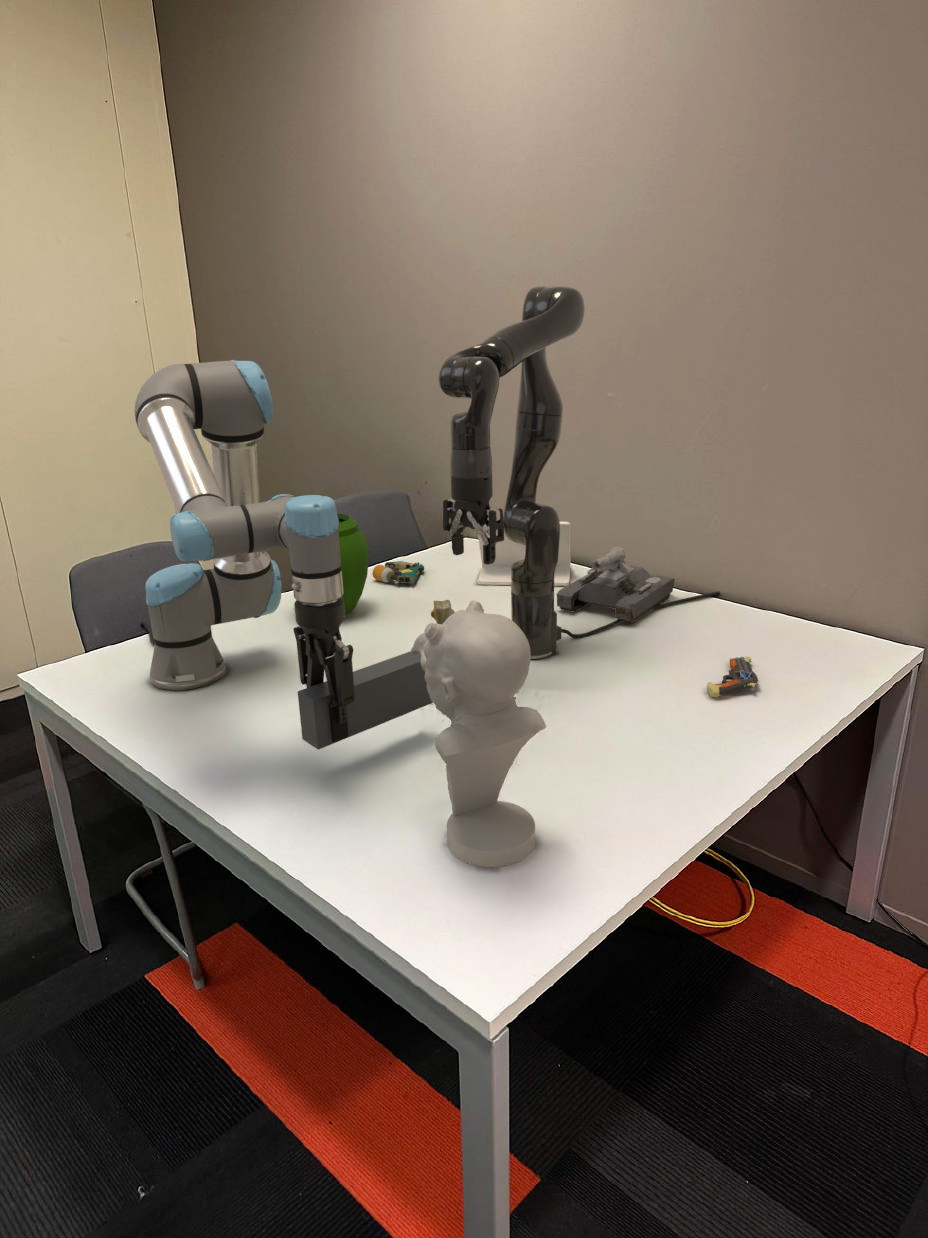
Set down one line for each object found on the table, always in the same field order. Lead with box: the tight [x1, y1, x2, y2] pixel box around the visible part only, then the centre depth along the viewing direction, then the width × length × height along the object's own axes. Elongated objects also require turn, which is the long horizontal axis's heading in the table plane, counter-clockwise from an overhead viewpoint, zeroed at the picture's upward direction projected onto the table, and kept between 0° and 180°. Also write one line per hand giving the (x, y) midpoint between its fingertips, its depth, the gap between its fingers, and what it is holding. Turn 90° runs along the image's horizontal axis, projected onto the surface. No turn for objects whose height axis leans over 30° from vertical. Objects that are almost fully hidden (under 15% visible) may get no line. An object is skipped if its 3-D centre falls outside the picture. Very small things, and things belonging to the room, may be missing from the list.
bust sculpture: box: [410, 599, 547, 868], centre depth 121 cm, size 16×24×35 cm
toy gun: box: [706, 656, 760, 698], centre depth 171 cm, size 3×19×10 cm
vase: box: [288, 513, 370, 617], centre depth 209 cm, size 20×20×24 cm
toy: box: [556, 546, 676, 624], centre depth 212 cm, size 25×20×15 cm
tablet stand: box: [476, 521, 572, 587], centre depth 236 cm, size 18×25×17 cm
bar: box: [297, 650, 434, 751], centre depth 142 cm, size 24×5×9 cm, turn 131°
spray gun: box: [371, 560, 425, 585], centre depth 240 cm, size 4×17×15 cm
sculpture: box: [430, 599, 456, 624], centre depth 177 cm, size 6×7×15 cm
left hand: (330, 732), depth 139 cm, fingers closed on bar, 5 cm apart
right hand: (473, 558), depth 159 cm, fingers open, 8 cm apart
